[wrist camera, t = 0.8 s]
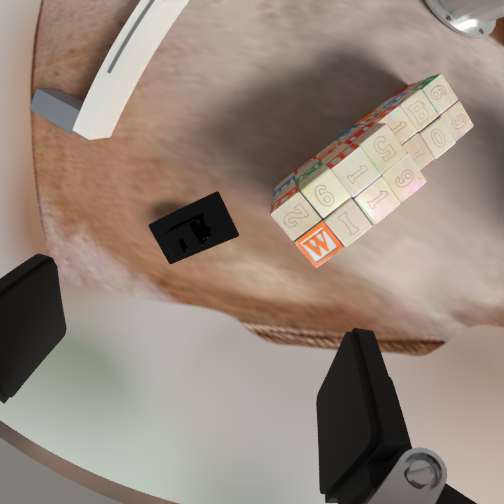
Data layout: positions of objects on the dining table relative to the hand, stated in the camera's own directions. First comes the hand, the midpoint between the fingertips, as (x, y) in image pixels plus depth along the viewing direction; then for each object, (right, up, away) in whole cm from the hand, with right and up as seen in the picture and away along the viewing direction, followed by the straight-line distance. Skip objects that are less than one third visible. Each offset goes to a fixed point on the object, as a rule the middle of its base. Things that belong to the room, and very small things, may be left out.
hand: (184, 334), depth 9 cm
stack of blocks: (+15, +14, +25) cm, 32 cm away
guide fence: (-13, +32, +20) cm, 40 cm away
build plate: (-6, +5, +31) cm, 32 cm away
